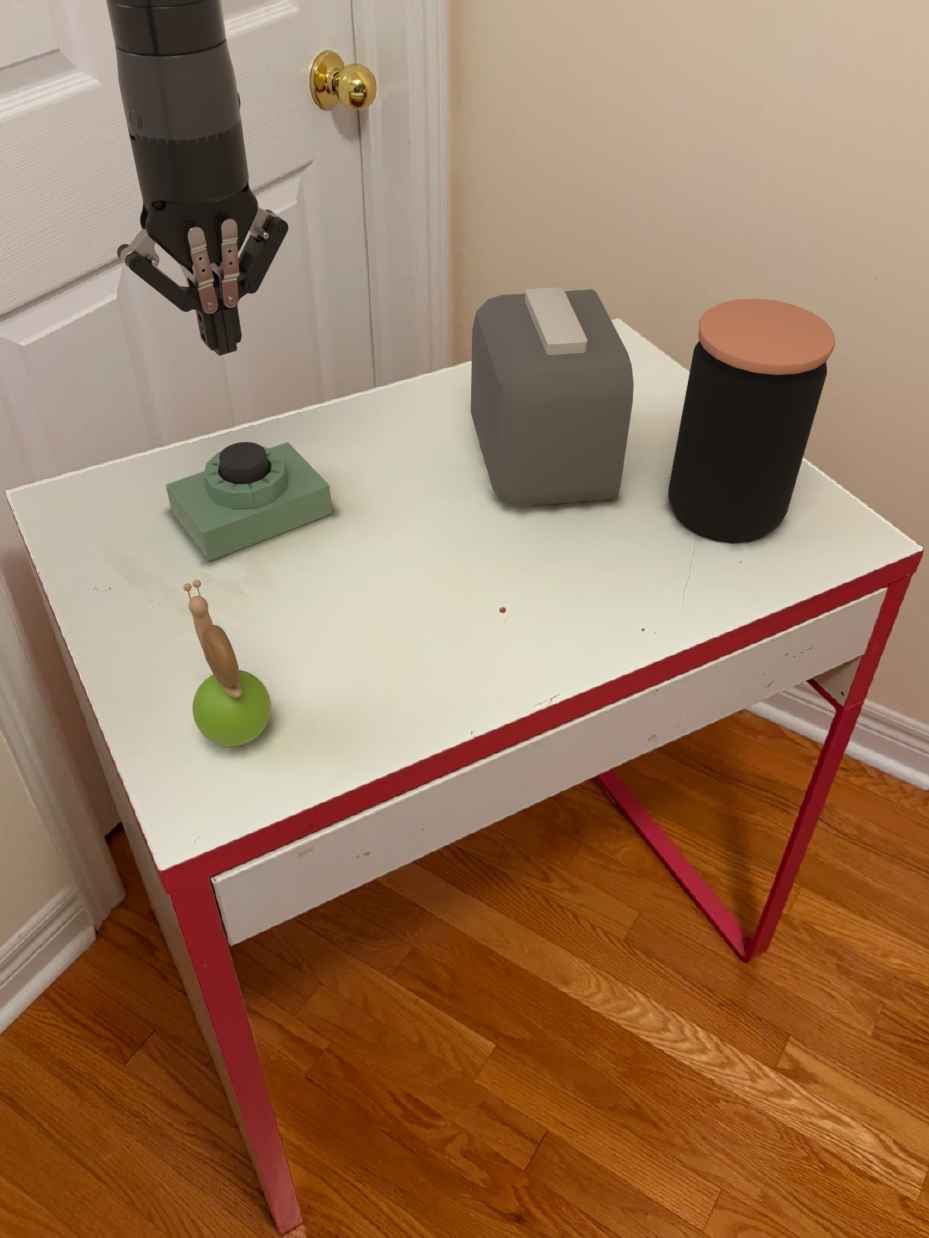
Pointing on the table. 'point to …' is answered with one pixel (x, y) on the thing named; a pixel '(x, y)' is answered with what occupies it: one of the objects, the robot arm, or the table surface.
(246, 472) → the black button
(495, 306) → the alarm clock
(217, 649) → the snail figurine
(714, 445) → the coffee jar
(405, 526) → the table surface
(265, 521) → the green push button box
